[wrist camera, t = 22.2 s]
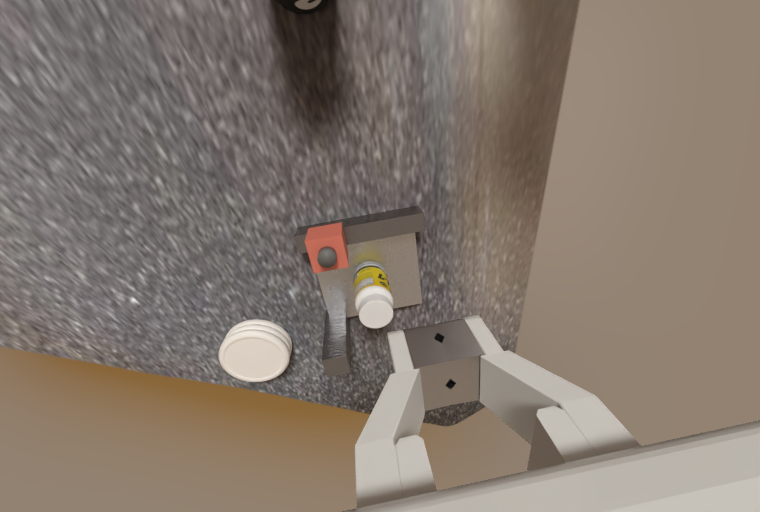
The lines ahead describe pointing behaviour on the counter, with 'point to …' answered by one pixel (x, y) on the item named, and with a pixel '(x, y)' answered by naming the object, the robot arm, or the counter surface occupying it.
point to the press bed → (365, 246)
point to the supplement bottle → (373, 296)
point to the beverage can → (303, 5)
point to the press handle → (327, 247)
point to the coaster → (256, 350)
